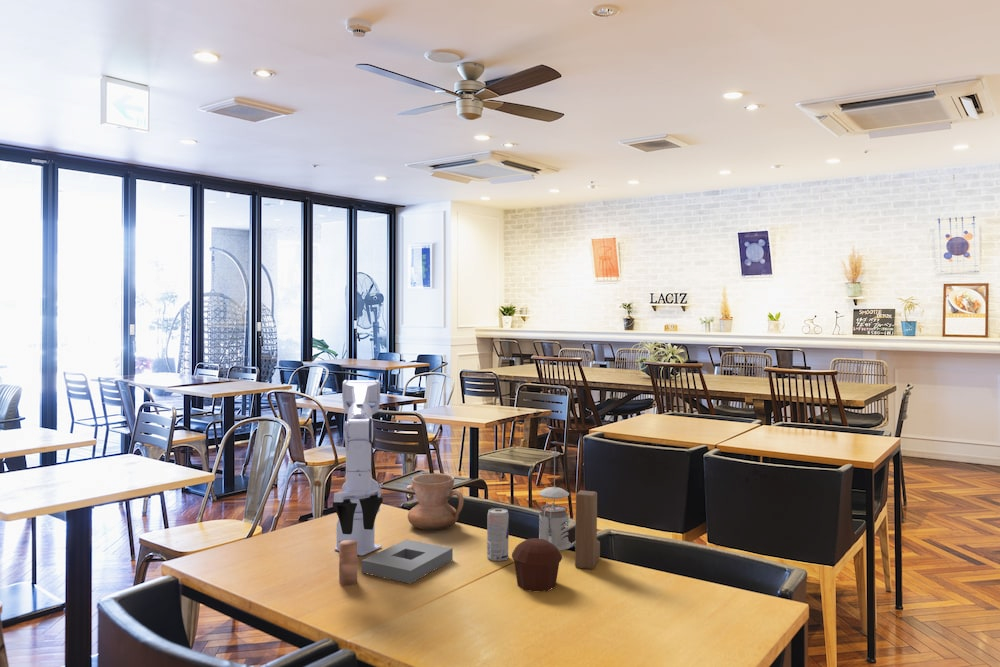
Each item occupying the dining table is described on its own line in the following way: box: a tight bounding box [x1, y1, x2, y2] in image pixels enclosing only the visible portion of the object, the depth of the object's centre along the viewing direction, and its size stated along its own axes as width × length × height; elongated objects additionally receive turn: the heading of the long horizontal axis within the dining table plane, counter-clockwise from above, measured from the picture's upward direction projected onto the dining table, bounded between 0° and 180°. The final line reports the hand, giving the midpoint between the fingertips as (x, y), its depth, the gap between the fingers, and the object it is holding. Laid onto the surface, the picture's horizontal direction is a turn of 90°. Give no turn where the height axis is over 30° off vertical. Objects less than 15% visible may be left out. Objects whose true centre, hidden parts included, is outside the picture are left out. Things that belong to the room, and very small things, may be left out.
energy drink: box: [486, 507, 510, 562], centre depth 179 cm, size 5×5×12 cm
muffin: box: [511, 537, 563, 592], centre depth 162 cm, size 12×11×10 cm
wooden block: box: [574, 489, 601, 570], centre depth 176 cm, size 9×4×18 cm, turn 161°
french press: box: [538, 451, 572, 551], centre depth 189 cm, size 10×12×25 cm
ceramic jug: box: [406, 473, 465, 531], centre depth 205 cm, size 18×14×14 cm
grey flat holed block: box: [361, 539, 454, 584], centre depth 173 cm, size 14×18×3 cm
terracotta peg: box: [338, 540, 358, 586], centre depth 162 cm, size 4×4×9 cm
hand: (357, 531), depth 162 cm, fingers open, 7 cm apart
